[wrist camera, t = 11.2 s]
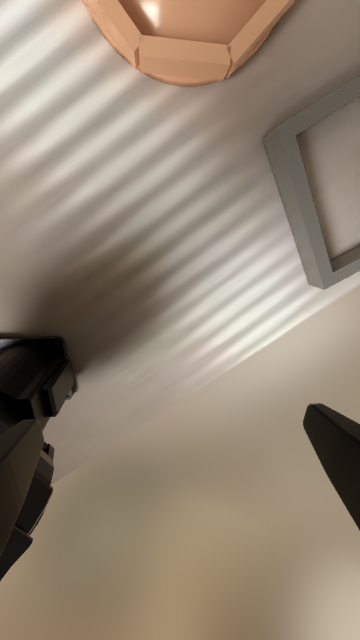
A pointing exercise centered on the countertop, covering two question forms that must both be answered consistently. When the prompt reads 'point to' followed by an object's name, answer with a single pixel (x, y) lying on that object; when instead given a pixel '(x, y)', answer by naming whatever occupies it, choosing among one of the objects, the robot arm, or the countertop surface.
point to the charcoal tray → (298, 192)
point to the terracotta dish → (186, 35)
